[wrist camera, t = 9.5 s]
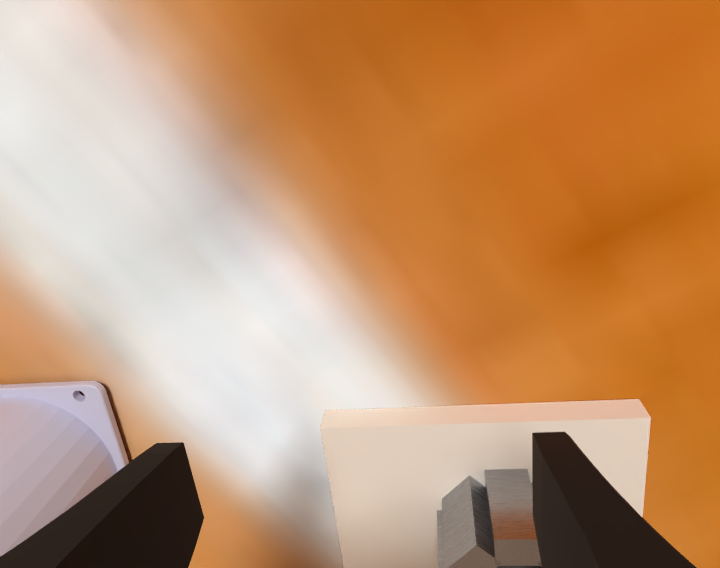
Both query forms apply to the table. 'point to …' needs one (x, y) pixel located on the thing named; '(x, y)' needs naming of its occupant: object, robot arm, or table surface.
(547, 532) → the robot arm
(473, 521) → the steel gear
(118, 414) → the table surface
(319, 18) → the table surface
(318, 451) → the table surface
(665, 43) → the table surface
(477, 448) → the gear board
